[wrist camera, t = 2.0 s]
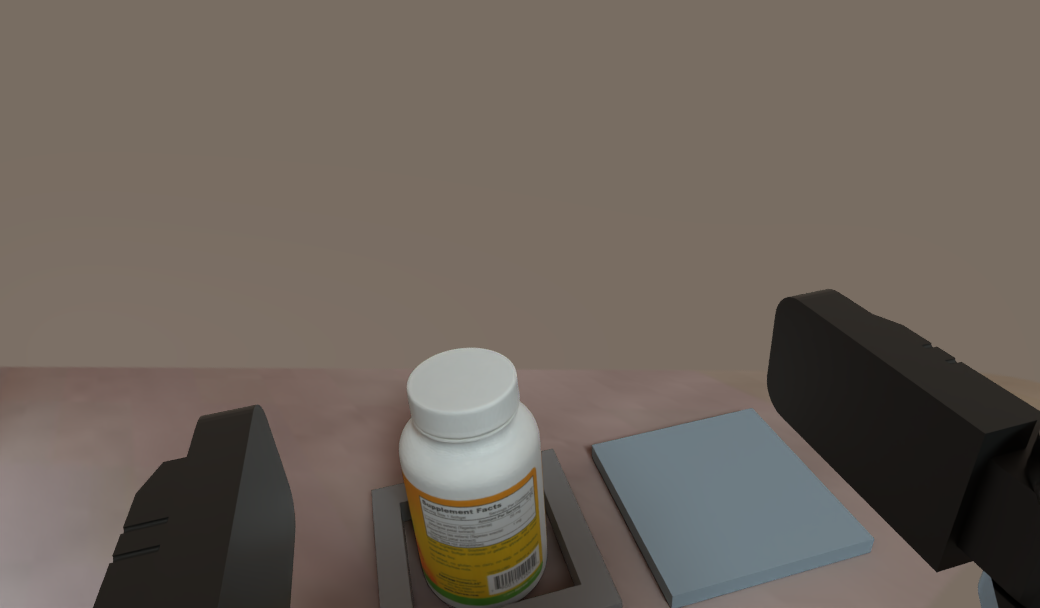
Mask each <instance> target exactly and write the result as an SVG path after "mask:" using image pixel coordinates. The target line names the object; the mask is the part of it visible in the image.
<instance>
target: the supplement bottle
mask: <svg viewBox="0 0 1040 608" xmlns="http://www.w3.org/2000/svg"><path fill="white" fill-rule="evenodd" d="M407 396H408V403H409V407H410V412H411V418H410V419H409V421H408V422H407V424H406V425H405V427H404V429H403V431H402V434H401V437H400V442H399V457H400V464H401V469H402V474H403V479H404V484H405V488H406V493H407V498H408V503H409V508H410V512H411V517H412V522H413V527H414V532H415V536H416V542H417V546H418V551H419V555H420V560H421V564H422V568H423V572H424V576H425V578H426V581H427V583H428V585H429V586H430V588H431V590H432V591H433V592H434V593H435V594H436V595H437V596H438V597H439V598H440V599H441V600H442V601H444V602H445V603H447V604H449V605H451V606H453V607H455V608H497V607H501V606H504V605H508V604H512V603H515V602H517V601H519V600H521V599H522V598H523V597H525V596H526V595H527V594H528V593H529V592H530V591H531V590H532V589H533V588H534V587H535V586H536V585H537V583H538V582H539V580H540V578H541V576H542V574H543V572H544V569H545V566H546V562H547V532H546V517H545V503H544V488H543V473H542V456H541V443H540V435H539V429H538V426H537V423H536V420H535V418H534V417H533V415H532V413H531V412H530V411H529V410H528V408H527V407H526V406H525V405H524V404H523V403H521V402H520V401H519V400H520V395H519V389H518V381H517V373H516V370H515V367H514V365H513V364H512V362H511V361H510V360H509V359H508V358H506V357H505V356H503V355H502V354H500V353H497V352H495V351H492V350H487V349H482V348H459V349H453V350H449V351H445V352H442V353H439V354H436V355H434V356H432V357H430V358H428V359H427V360H425V361H424V362H422V363H421V364H419V365H418V366H417V367H416V368H415V369H414V370H413V372H412V373H411V375H410V376H409V379H408V382H407Z"/></svg>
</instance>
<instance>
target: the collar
mask: <svg viewBox="0 0 1040 608" xmlns="http://www.w3.org/2000/svg"><path fill="white" fill-rule="evenodd" d="M541 456H542V473H543V488H544V503H545V510H546V512H547V515H548V517H549V520H550V522H551V525H552V528H553V530H554V533H555V535H556V538H557V541H558V543H559V546H560V548H561V551H562V553H563V556H564V559H565V561H566V564H567V566H568V569H569V572H570V574H571V577H572V579H573V582H574V584H575V586H574V587H570V588H567V589H563V590H559V591H556V592H552V593H548V594H545V595H541V596H537V597H534V598H530V599H526V600H523V601H519V602H515V603H512V604H508V605H504V606H501V607H497V608H622V601H621V598H620V596H619V594H618V592H617V590H616V587H615V585H614V583H613V581H612V578H611V576H610V574H609V572H608V570H607V567H606V565H605V563H604V561H603V559H602V556H601V554H600V552H599V550H598V547H597V545H596V543H595V541H594V539H593V536H592V534H591V532H590V530H589V527H588V525H587V523H586V521H585V519H584V516H583V514H582V512H581V510H580V507H579V505H578V503H577V501H576V499H575V496H574V494H573V492H572V490H571V487H570V485H569V483H568V481H567V479H566V476H565V474H564V472H563V470H562V468H561V465H560V463H559V461H558V459H557V456H556V454H555V452H554V450H553V449H549V450H545V451H541ZM371 492H372V505H373V519H374V532H375V546H376V560H377V573H378V587H379V600H380V608H414V602H413V594H412V586H411V578H410V570H409V562H408V554H407V546H406V538H405V530H404V522H403V521H407V520H411V519H412V517H411V512H410V508H409V503H408V498H407V493H406V488H405V484H404V483H401V484H397V485H392V486H388V487H384V488H379V489H375V490H371Z"/></svg>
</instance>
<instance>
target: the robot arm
mask: <svg viewBox="0 0 1040 608" xmlns="http://www.w3.org/2000/svg"><path fill="white" fill-rule="evenodd" d="M767 387H768V392H769V396H770V399H771V401H772V403H773V406H774V407H775V409H776V411H777V412H778V413H779V414H780V416H781V417H782V418H783V419H784V420H785V421H786V422H787V423H788V424H789V425H790V426H791V427H792V428H793V429H794V430H795V431H796V432H797V433H798V434H799V435H800V436H801V437H802V438H803V439H804V440H805V441H806V442H807V443H808V444H809V445H810V446H811V447H812V448H813V449H814V450H815V451H816V452H817V453H818V454H819V455H820V456H821V457H822V458H823V459H824V460H825V461H826V462H827V463H828V464H829V465H830V466H831V467H832V468H833V469H834V470H835V471H836V472H837V473H838V474H839V475H840V476H841V477H842V478H843V479H844V480H845V481H846V482H847V483H848V484H849V485H850V486H851V487H852V488H853V489H854V490H855V491H856V492H857V493H858V494H859V495H860V496H861V497H862V498H863V499H864V500H865V501H866V502H867V503H868V504H869V505H870V506H871V507H872V508H873V509H874V510H875V511H876V512H877V513H878V514H879V515H880V516H881V517H882V518H883V519H884V520H885V521H886V522H887V523H888V524H889V525H890V526H891V527H892V528H893V529H894V530H895V531H896V532H897V533H898V534H899V535H900V536H901V537H902V538H903V539H904V540H905V541H906V542H907V543H908V544H909V545H910V546H911V547H912V548H913V549H914V550H915V551H916V552H917V553H918V554H919V555H920V556H921V557H922V558H923V559H924V560H925V561H926V562H927V563H928V564H929V565H930V566H931V567H932V568H933V569H934V570H935V571H936V572H939V571H942V570H946V569H949V568H952V567H955V566H959V565H962V564H965V563H968V562H972V561H974V562H975V563H976V564H977V565H978V566H979V567H980V568H981V569H982V570H983V572H982V575H981V577H980V580H979V583H978V594H979V599H980V603H981V608H1040V411H1039V410H1037V409H1036V408H1034V407H1032V406H1031V405H1029V404H1028V403H1026V402H1024V401H1023V400H1021V399H1020V398H1018V397H1016V396H1015V395H1013V394H1012V393H1010V392H1009V391H1007V390H1005V389H1004V388H1002V387H1001V386H999V385H997V384H996V383H994V382H993V381H991V380H989V379H988V378H986V377H985V376H983V375H981V374H980V373H978V372H977V371H975V370H973V369H972V368H970V367H969V366H967V365H965V364H964V363H962V362H959V363H957V362H956V361H955V358H954V357H952V356H951V355H949V354H948V353H946V352H945V351H943V350H941V349H940V348H938V347H934V348H933V347H932V345H931V343H930V342H929V341H927V340H926V339H924V338H922V337H921V336H919V335H918V334H916V333H914V332H913V331H911V330H909V329H908V328H907V327H905V326H903V325H901V324H898V323H895V322H893V321H890V320H887V319H885V318H882V317H879V316H876V315H874V314H871V313H870V312H868V311H867V310H865V309H864V308H862V307H861V306H859V305H858V304H856V303H854V302H853V301H851V300H850V299H848V298H847V297H845V296H844V295H842V294H840V293H839V292H837V291H835V290H832V289H826V290H821V291H816V292H811V293H806V294H801V295H797V296H792V297H787V298H784V299H783V300H782V301H781V302H780V303H779V304H778V307H777V309H776V314H775V321H774V329H773V337H772V344H771V351H770V359H769V366H768V374H767ZM123 528H124V533H123V534H121V535H120V537H119V540H118V542H117V545H116V548H115V550H114V553H113V563H110V564H109V566H108V569H107V572H106V574H105V577H104V580H103V582H102V585H101V588H100V590H99V593H98V596H97V598H96V601H95V604H94V606H93V608H290V600H291V586H292V571H293V557H294V542H295V513H294V505H293V499H292V494H291V490H290V487H289V483H288V480H287V477H286V474H285V471H284V468H283V465H282V462H281V459H280V456H279V454H278V451H277V448H276V445H275V442H274V439H273V436H272V433H271V430H270V427H269V424H268V421H267V418H266V415H265V413H264V411H263V409H262V408H261V406H260V405H253V406H248V407H243V408H238V409H234V410H229V411H224V412H219V413H214V414H209V415H204V416H201V417H200V418H199V420H198V422H197V425H196V428H195V431H194V435H193V438H192V441H191V445H190V448H189V451H188V455H187V457H185V458H180V459H176V460H171V461H166V462H163V463H162V464H161V465H160V467H159V468H158V469H157V470H156V471H155V472H154V473H153V475H152V476H151V477H150V478H149V479H148V480H147V482H146V483H145V484H144V485H143V486H142V487H141V488H140V490H139V491H138V492H137V493H136V495H135V497H134V500H133V503H132V505H131V508H130V511H129V513H128V516H127V519H126V521H125V524H124V527H123Z"/></svg>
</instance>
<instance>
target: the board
mask: <svg viewBox="0 0 1040 608" xmlns="http://www.w3.org/2000/svg"><path fill="white" fill-rule="evenodd" d="M592 458H593V460H594V462H595V464H596V466H597V468H598V469H599V471H600V473H601V475H602V477H603V479H604V481H605V483H606V485H607V487H608V489H609V491H610V492H611V494H612V496H613V498H614V500H615V502H616V504H617V506H618V508H619V510H620V512H621V514H622V515H623V517H624V519H625V521H626V523H627V525H628V527H629V529H630V531H631V533H632V535H633V537H634V538H635V540H636V542H637V544H638V546H639V548H640V550H641V552H642V554H643V556H644V558H645V560H646V562H647V563H648V565H649V567H650V569H651V571H652V573H653V575H654V577H655V579H656V581H657V583H658V585H659V586H660V588H661V590H662V592H663V594H664V596H665V598H666V600H667V602H668V604H669V606H670V608H679V607H682V606H686V605H689V604H693V603H696V602H700V601H703V600H707V599H710V598H714V597H717V596H720V595H724V594H727V593H731V592H734V591H738V590H741V589H745V588H748V587H752V586H755V585H759V584H762V583H765V582H769V581H772V580H776V579H779V578H783V577H786V576H790V575H793V574H797V573H800V572H803V571H807V570H810V569H814V568H817V567H821V566H824V565H828V564H831V563H835V562H838V561H842V560H845V559H848V558H852V557H855V556H859V555H862V554H866V553H869V552H871V549H872V545H873V542H874V538H873V537H872V536H871V535H870V534H869V533H868V532H867V530H866V529H865V528H864V527H863V526H862V525H861V524H860V523H859V522H858V521H857V520H856V519H855V518H854V517H853V515H852V514H851V513H850V512H849V511H848V510H847V509H846V508H845V507H844V506H843V505H842V504H841V503H840V502H839V500H838V499H837V498H836V497H835V496H834V495H833V494H832V493H831V492H830V491H829V490H828V489H827V488H826V487H825V485H824V484H823V483H822V482H821V481H820V480H819V479H818V478H817V477H816V476H815V475H814V474H813V473H812V472H811V471H810V469H809V468H808V467H807V466H806V465H805V464H804V463H803V462H802V461H801V460H800V459H799V458H798V457H797V456H796V454H795V453H794V452H793V451H792V450H791V449H790V448H789V447H788V446H787V445H786V444H785V443H784V442H783V441H782V439H781V438H780V437H779V436H778V435H777V434H776V433H775V432H774V431H773V430H772V429H771V428H770V427H769V426H768V425H767V423H766V422H765V421H764V420H763V419H762V418H761V417H760V416H759V415H758V414H757V413H756V412H755V411H754V410H753V408H750V409H746V410H742V411H737V412H733V413H729V414H724V415H720V416H716V417H711V418H707V419H703V420H698V421H694V422H690V423H686V424H681V425H677V426H673V427H668V428H664V429H660V430H655V431H651V432H647V433H642V434H638V435H634V436H629V437H625V438H621V439H616V440H612V441H608V442H603V443H599V444H595V445H592Z"/></svg>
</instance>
